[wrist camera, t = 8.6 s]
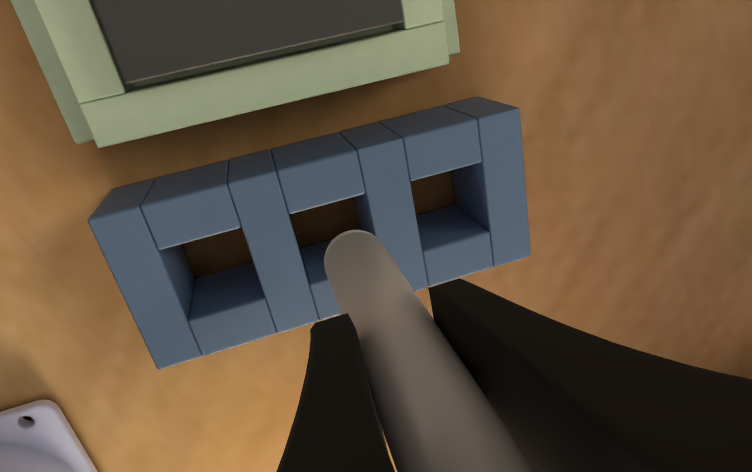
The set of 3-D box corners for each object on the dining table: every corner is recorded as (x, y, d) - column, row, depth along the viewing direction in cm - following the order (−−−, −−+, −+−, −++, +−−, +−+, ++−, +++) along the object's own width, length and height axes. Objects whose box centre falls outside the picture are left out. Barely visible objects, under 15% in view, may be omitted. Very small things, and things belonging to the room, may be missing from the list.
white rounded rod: (327, 283, 14) (502, 781, 5) (312, 230, 13) (484, 690, 4) (384, 266, 14) (657, 708, 5) (372, 213, 13) (663, 611, 4)
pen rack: (169, 321, 18) (157, 371, 16) (111, 188, 16) (85, 219, 14) (492, 226, 20) (531, 256, 18) (478, 95, 18) (520, 107, 15)
